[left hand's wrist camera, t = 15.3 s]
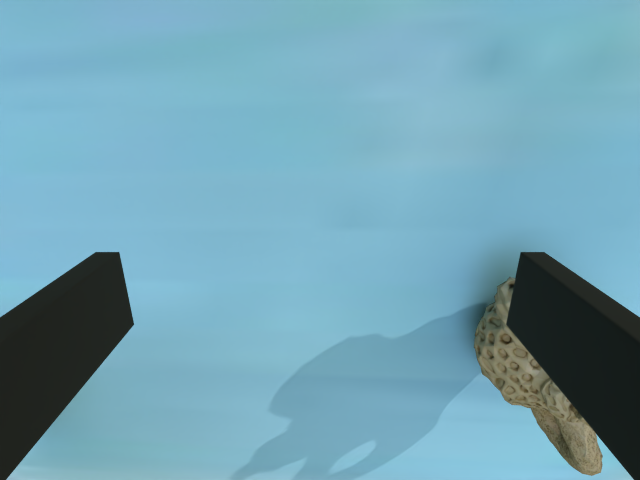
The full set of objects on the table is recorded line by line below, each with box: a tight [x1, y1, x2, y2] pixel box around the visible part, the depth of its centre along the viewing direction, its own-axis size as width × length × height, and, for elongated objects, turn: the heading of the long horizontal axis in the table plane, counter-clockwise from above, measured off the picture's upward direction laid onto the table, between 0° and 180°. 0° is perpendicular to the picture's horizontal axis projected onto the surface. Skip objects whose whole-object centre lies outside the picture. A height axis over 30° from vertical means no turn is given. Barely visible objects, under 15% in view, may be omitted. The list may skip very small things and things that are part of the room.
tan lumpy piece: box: [474, 277, 603, 476], centre depth 38 cm, size 21×12×15 cm, turn 24°
